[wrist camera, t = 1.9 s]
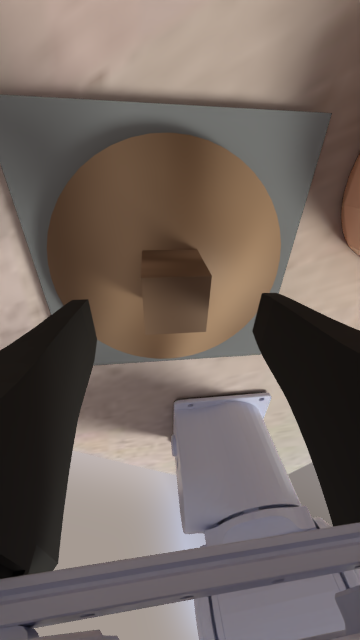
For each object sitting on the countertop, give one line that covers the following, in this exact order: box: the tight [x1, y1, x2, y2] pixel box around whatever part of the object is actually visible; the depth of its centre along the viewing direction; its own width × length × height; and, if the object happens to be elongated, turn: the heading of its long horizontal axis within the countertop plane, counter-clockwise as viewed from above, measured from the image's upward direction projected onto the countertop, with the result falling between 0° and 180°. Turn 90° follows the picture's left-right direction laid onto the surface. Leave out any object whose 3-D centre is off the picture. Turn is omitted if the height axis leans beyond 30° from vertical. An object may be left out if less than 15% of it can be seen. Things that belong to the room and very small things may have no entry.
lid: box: [47, 133, 281, 359], centre depth 13 cm, size 13×13×4 cm
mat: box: [0, 94, 332, 365], centre depth 15 cm, size 15×15×1 cm
